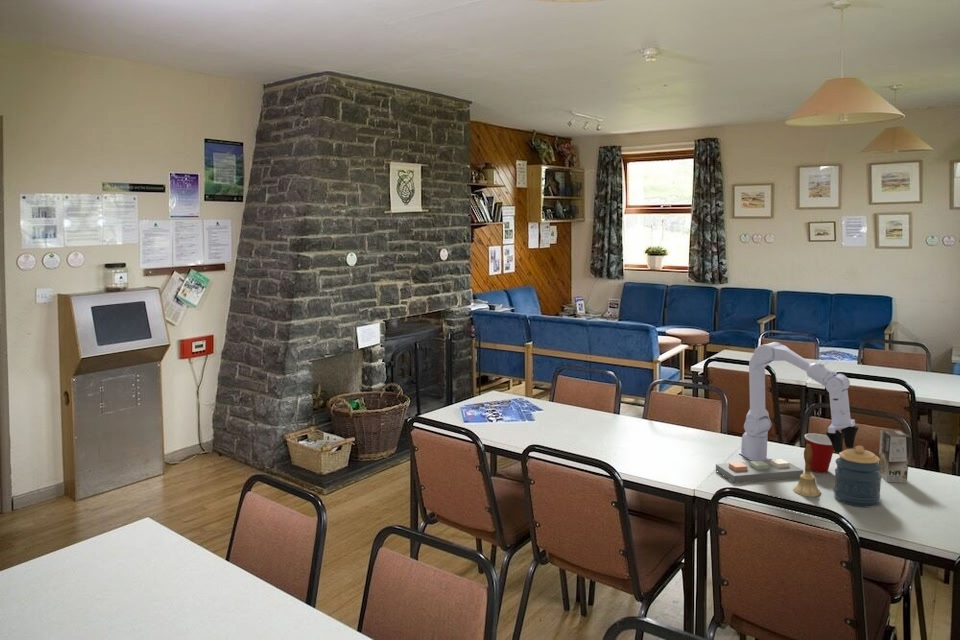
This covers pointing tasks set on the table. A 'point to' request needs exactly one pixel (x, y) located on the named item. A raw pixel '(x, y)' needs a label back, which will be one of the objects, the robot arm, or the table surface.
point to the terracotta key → (737, 466)
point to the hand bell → (807, 477)
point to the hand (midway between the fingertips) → (844, 450)
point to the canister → (858, 477)
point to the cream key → (779, 463)
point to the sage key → (759, 465)
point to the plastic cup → (820, 452)
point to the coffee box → (894, 455)
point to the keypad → (759, 472)
